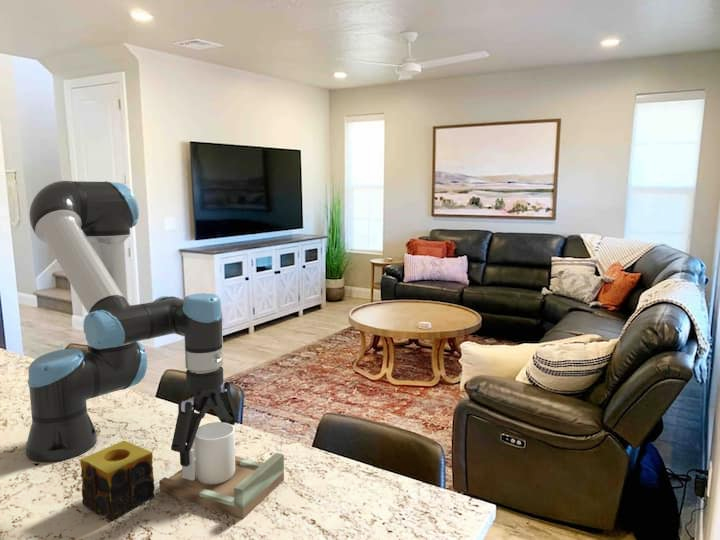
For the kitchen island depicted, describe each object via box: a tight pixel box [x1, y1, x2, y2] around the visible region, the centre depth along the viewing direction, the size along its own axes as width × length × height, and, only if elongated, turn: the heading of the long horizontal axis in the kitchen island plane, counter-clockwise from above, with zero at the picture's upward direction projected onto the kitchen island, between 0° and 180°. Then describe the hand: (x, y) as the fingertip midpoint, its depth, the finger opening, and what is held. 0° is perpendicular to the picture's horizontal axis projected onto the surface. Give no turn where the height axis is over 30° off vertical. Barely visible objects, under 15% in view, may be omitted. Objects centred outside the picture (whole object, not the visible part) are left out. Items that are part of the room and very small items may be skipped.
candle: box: [79, 440, 155, 522], centre depth 105 cm, size 10×10×10 cm
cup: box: [191, 421, 236, 485], centre depth 113 cm, size 8×12×10 cm
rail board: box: [158, 452, 285, 519], centre depth 111 cm, size 21×15×6 cm
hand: (207, 464), depth 112 cm, fingers open, 11 cm apart
